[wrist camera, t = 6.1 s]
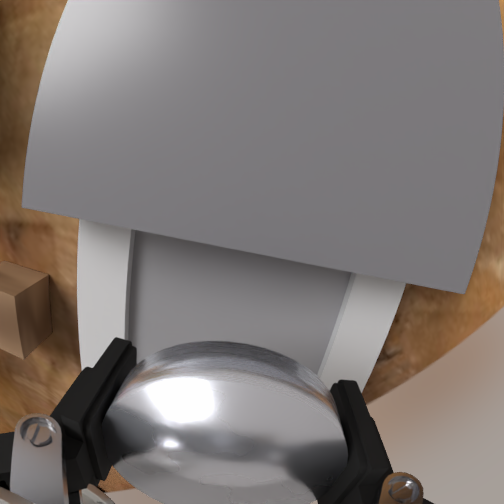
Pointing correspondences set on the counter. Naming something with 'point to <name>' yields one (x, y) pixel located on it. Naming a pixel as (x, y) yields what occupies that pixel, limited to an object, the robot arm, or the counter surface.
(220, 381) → the disc
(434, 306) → the counter surface
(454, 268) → the housing
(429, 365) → the counter surface
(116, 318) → the tray
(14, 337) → the walnut block
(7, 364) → the counter surface
